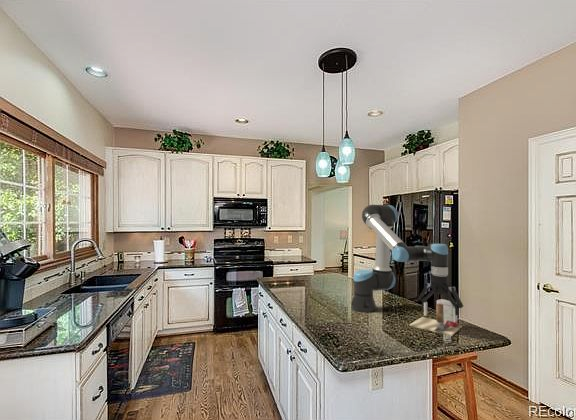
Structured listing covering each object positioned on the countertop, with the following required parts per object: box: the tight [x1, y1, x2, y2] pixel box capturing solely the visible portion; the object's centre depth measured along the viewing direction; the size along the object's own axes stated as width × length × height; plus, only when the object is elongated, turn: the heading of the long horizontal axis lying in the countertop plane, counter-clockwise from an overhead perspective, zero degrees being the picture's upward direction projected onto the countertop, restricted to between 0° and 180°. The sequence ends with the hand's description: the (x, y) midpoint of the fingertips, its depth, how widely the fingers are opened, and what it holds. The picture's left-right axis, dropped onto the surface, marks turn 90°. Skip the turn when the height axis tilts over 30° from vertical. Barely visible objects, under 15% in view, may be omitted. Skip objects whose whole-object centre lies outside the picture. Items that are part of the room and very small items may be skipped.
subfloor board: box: [409, 316, 463, 337], centre depth 156 cm, size 20×17×1 cm
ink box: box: [436, 298, 459, 327], centre depth 157 cm, size 9×5×12 cm, turn 34°
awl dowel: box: [435, 303, 444, 331], centre depth 149 cm, size 3×3×12 cm
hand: (439, 318), depth 149 cm, fingers open, 13 cm apart
